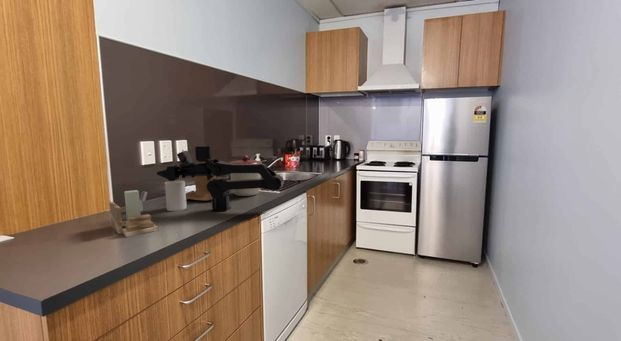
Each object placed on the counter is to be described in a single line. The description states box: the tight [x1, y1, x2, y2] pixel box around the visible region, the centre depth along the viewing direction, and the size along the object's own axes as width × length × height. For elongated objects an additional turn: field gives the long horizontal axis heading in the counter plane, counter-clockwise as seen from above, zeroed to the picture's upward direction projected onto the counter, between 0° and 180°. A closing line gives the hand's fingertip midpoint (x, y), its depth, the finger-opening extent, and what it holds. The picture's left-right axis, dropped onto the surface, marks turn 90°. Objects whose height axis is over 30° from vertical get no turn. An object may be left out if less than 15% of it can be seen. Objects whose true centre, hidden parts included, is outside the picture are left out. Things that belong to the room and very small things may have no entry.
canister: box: [229, 154, 262, 197], centre depth 168 cm, size 18×18×21 cm
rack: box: [108, 201, 159, 238], centre depth 112 cm, size 11×17×9 cm, turn 42°
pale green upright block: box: [123, 189, 142, 221], centre depth 114 cm, size 4×3×13 cm
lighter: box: [139, 191, 148, 212], centre depth 137 cm, size 7×2×8 cm, turn 158°
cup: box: [164, 179, 187, 212], centre depth 140 cm, size 8×8×12 cm
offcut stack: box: [124, 213, 155, 232], centre depth 109 cm, size 8×4×4 cm, turn 132°
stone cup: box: [186, 176, 217, 202], centre depth 157 cm, size 15×12×15 cm
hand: (162, 171), depth 137 cm, fingers open, 9 cm apart
